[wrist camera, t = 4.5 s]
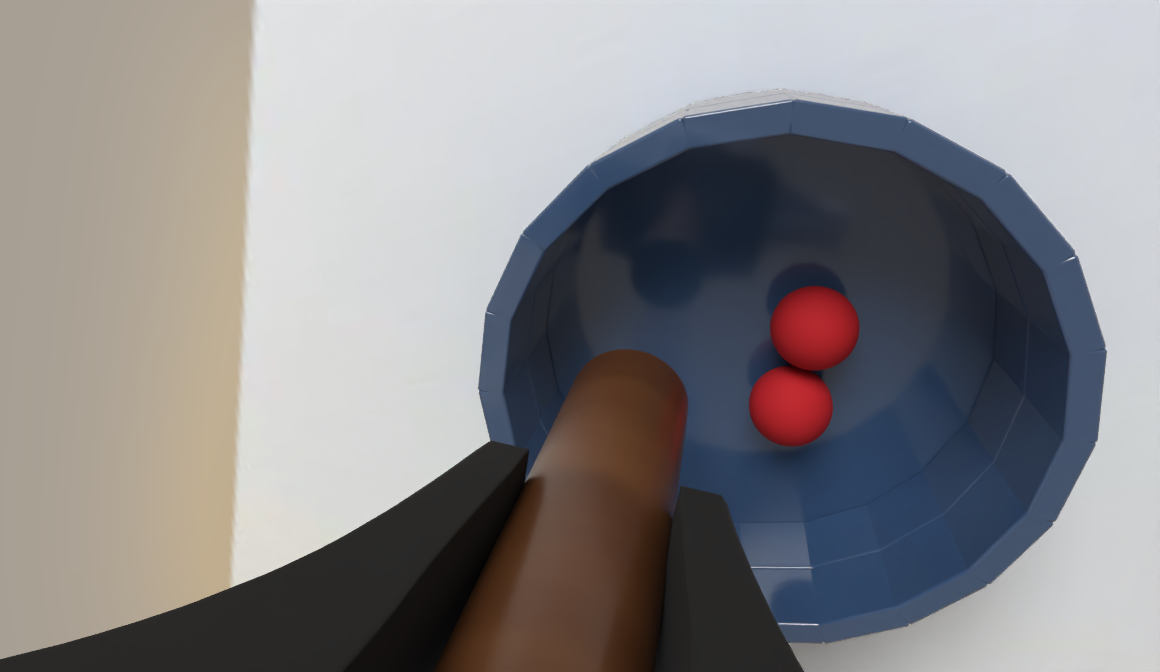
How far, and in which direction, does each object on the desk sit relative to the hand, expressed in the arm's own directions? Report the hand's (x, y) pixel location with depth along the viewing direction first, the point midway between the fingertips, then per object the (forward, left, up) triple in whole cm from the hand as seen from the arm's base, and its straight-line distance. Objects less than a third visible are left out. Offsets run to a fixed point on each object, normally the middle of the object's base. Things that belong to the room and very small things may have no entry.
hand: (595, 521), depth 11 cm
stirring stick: (0, 0, -4) cm, 4 cm away
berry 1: (+1, -4, -7) cm, 8 cm away
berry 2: (-1, -4, -7) cm, 8 cm away
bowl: (0, -3, -9) cm, 9 cm away
